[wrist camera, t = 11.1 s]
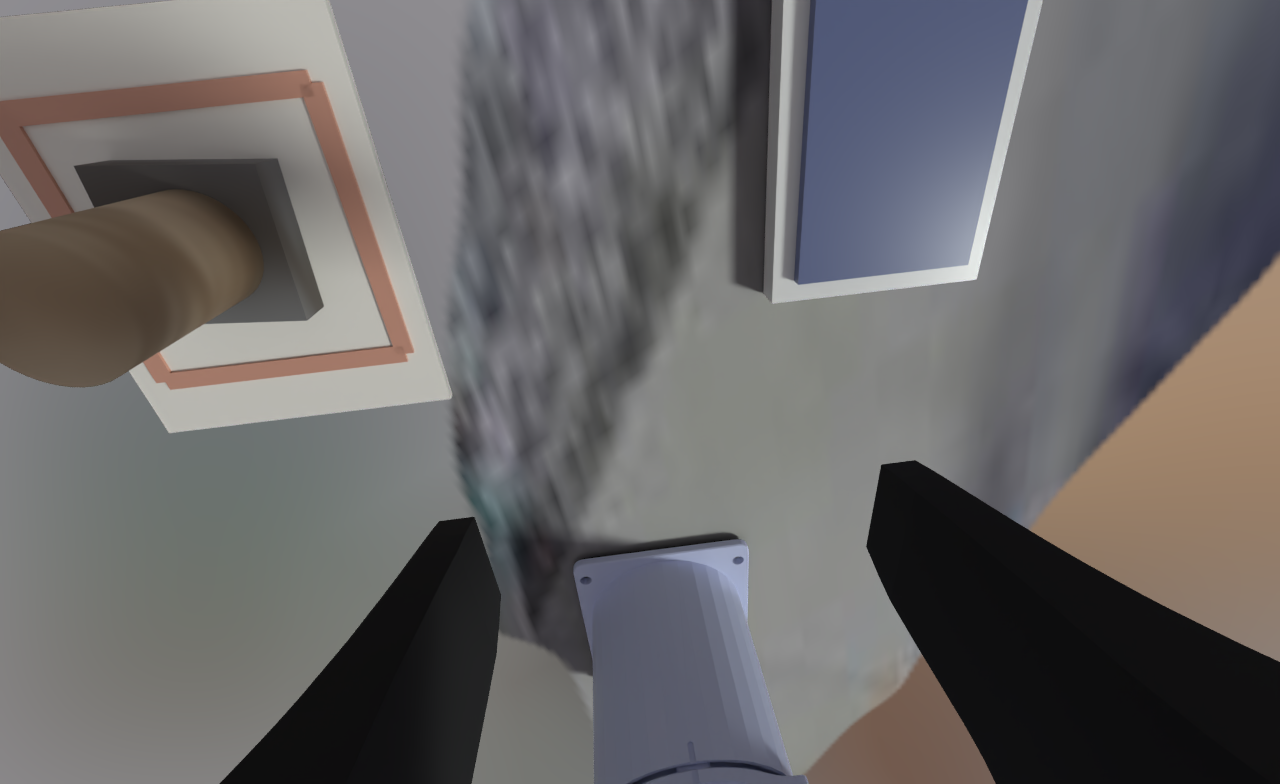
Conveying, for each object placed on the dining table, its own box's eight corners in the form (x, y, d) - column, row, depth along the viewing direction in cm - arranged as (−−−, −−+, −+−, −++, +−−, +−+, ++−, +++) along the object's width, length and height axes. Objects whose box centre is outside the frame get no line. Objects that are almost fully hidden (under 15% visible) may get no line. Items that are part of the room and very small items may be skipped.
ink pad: (958, 270, 19) (984, 283, 18) (763, 293, 19) (775, 308, 17) (1029, -57, 14) (1071, -70, 13) (772, -32, 14) (790, -43, 13)
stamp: (324, 306, 17) (204, 406, 12) (179, 310, 17) (-11, 416, 11) (277, 158, 15) (104, 198, 10) (110, 160, 15) (-167, 203, 9)
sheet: (452, 394, 19) (450, 400, 19) (174, 428, 19) (167, 434, 19) (325, -13, 13) (318, -15, 13) (-84, 27, 13) (-102, 26, 13)
